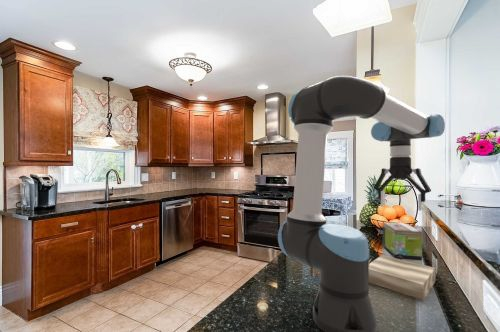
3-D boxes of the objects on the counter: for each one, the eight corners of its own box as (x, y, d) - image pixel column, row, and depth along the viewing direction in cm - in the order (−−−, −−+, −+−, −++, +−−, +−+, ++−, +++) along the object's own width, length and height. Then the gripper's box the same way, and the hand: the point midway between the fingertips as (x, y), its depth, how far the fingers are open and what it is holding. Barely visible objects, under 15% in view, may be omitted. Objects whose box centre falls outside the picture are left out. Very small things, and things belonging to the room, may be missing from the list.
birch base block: (423, 301, 72) (423, 284, 72) (364, 282, 84) (363, 267, 84) (435, 282, 83) (435, 267, 83) (381, 267, 96) (381, 255, 96)
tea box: (423, 270, 93) (423, 231, 93) (394, 267, 95) (394, 229, 95) (406, 255, 108) (406, 222, 108) (381, 254, 110) (381, 221, 110)
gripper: (439, 155, 95) (440, 210, 95) (372, 157, 113) (372, 203, 113) (435, 155, 90) (436, 213, 90) (365, 157, 108) (366, 205, 108)
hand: (400, 208), depth 101 cm, fingers open, 13 cm apart
